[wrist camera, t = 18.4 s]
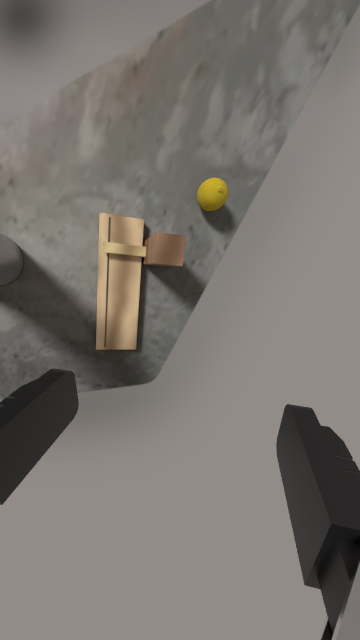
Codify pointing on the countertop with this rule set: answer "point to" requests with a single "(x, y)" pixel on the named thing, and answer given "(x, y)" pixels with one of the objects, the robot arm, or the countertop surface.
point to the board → (118, 284)
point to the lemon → (212, 194)
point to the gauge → (153, 249)
